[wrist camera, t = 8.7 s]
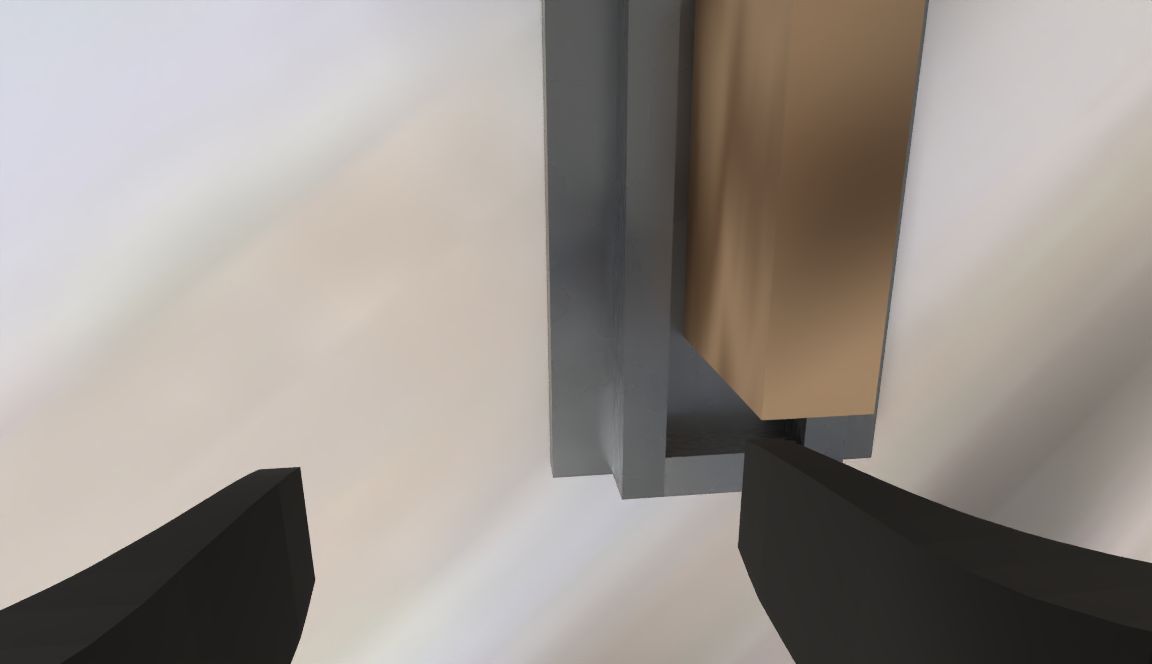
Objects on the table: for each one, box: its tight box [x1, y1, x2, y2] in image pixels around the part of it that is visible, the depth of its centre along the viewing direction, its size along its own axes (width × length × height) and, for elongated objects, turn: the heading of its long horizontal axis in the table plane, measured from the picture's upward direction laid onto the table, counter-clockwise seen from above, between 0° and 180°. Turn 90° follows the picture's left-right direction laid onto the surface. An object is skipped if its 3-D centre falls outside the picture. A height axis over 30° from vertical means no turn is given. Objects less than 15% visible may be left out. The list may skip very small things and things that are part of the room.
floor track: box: [542, 0, 929, 499], centre depth 18 cm, size 18×10×2 cm, turn 0°
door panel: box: [683, 0, 926, 420], centre depth 16 cm, size 9×2×6 cm, turn 0°
